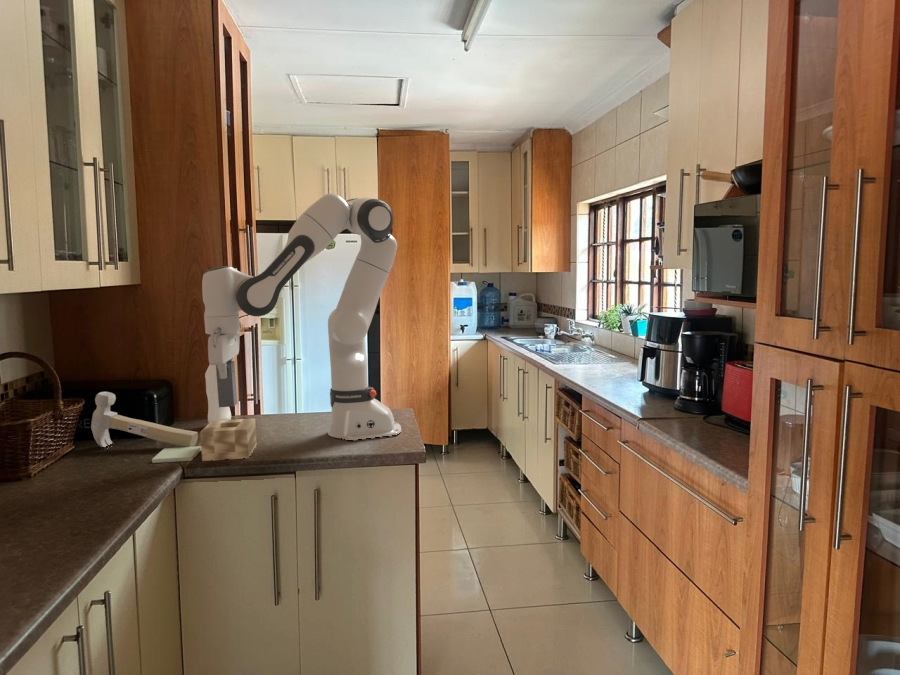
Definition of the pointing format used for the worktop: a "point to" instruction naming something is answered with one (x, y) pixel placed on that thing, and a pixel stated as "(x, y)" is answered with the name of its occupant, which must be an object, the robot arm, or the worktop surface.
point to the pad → (177, 454)
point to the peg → (227, 387)
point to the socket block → (228, 439)
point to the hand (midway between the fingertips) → (226, 376)
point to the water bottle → (214, 397)
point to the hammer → (133, 425)
